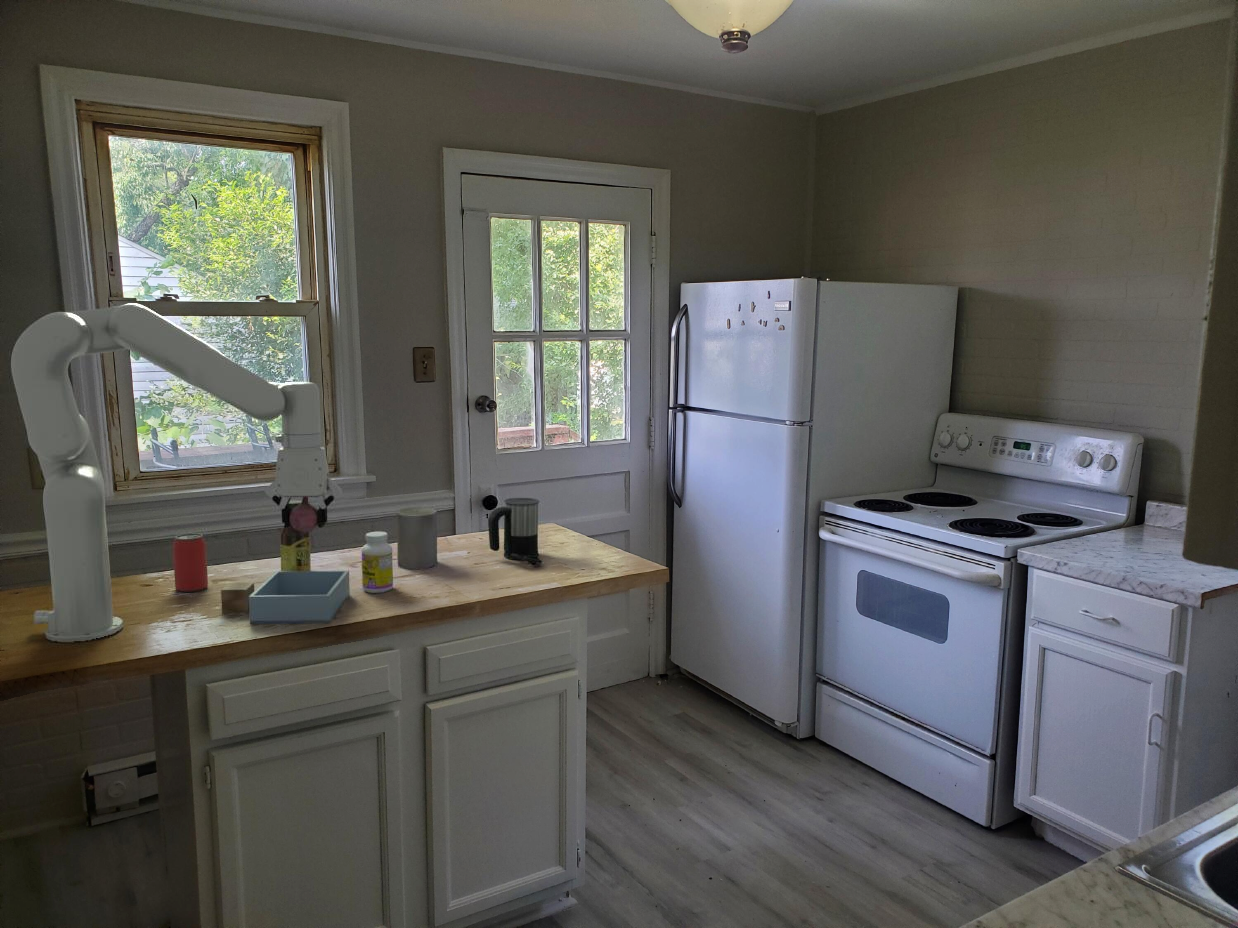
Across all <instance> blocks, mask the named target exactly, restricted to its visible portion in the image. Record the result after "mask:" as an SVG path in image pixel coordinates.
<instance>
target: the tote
mask: <svg viewBox="0 0 1238 928" xmlns="http://www.w3.org/2000/svg"><path fill="white" fill-rule="evenodd" d="M350 589H351V587H350V570H311V571H281V570H276V571H274V573H273V574H271V575H270V576H269V577H268V578H267V579H266V580H264V582H262V584H260V586H259V587H258V588H256V589H254V592H253V593H252V594H251V595H250V596H249V612H248V613H249V624H250V625H270V624H271V625H279V624H281V625H283V624H284V625H285V624H331V623H332V621H333V620H334V619H335V617H336V616H337V614H338V613H339V611H340V610H341V608H342V607H343V606H344V605H345V603H346V601H347V600H348V598H350V595H351V594H350V593H351V591H350Z"/></svg>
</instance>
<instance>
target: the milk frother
mask: <svg viewBox="0 0 1238 928" xmlns="http://www.w3.org/2000/svg"><path fill="white" fill-rule="evenodd" d="M503 502H504V503H505V506H500V507H496V508H495V509H493V510H492V511H491V512H490V513H489V515H488V519H487V524H488V525H487V526H488V540H489V541H488V542H489V548H490V549H491V550H492V551H494V552H498V551H500V548H501V547H500V526H499V523H500V522H499V521H500V520H501V518H502V517H503V516H504V517H503V518H504V519H503V520H504V521H503V523H504V524H503V557H504V558H506V559H508V558H509V560H514V559H515V561H523V562H526V563H528V564H530V565H531V566H533V565H536V566H537V564H539V565H540V564H543V559H542V558H539V557H540V554H539V540H538V539H539V538H538V537H539V503H540V500H539V499H536V498H532V497H513V498H512V497H510V498H507V499H504V501H503Z"/></svg>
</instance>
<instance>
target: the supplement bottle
mask: <svg viewBox="0 0 1238 928" xmlns="http://www.w3.org/2000/svg"><path fill="white" fill-rule="evenodd" d="M388 539H389V538H388V533H387V532H385V531H371V532H367V533H365V540H366V544H365V545H363V546H362V548H361V578H362V579H361V580H362V585H361V586H362V590H363V591H364V592H366V593H371V594H380V593H386V592H389V591H391V590H392V589H393V588H394V578H393V575H394V574H393V573H394V572H393V571H394V568H393V566H394V565H393V547H392V546H391V544H390V543H388Z"/></svg>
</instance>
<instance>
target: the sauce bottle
mask: <svg viewBox="0 0 1238 928" xmlns="http://www.w3.org/2000/svg"><path fill="white" fill-rule="evenodd" d="M301 502H302V500H298V499H297V500H290V502H289V506H291V509H292V510H293V509H294V508H295V507H296V506H298V505H299V504H300V503H301ZM279 546H280V548H279V549H280V571H312V568H311V536H310V532H309V533H308V534H304V533H303V534H302V533H301V532H300V531H298V530H296V529H295V528H293V526H292V525H291V526H289V527H288V528H285V526H284V525H283V526H282V529H281V531H280V545H279Z"/></svg>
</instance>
